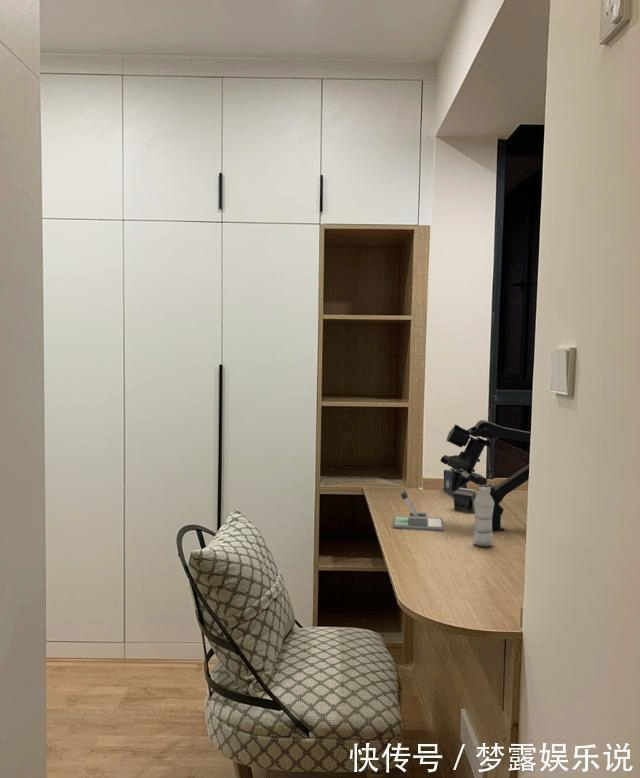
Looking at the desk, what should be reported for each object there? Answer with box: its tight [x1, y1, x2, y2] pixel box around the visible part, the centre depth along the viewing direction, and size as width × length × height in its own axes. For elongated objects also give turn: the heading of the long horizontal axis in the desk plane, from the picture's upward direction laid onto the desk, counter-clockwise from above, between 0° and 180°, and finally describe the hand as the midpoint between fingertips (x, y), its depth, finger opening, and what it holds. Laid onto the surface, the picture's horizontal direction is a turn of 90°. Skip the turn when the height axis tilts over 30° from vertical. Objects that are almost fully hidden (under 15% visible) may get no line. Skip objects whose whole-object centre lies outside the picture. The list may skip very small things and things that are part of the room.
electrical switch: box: [452, 488, 478, 514], centre depth 248 cm, size 9×5×9 cm, turn 57°
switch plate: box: [392, 510, 445, 532], centre depth 230 cm, size 18×14×4 cm
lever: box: [400, 490, 420, 517], centre depth 230 cm, size 2×4×12 cm
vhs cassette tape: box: [442, 469, 468, 498], centre depth 271 cm, size 18×3×10 cm, turn 12°
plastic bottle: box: [472, 484, 494, 547], centre depth 206 cm, size 6×7×20 cm
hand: (453, 491), depth 226 cm, fingers closed
